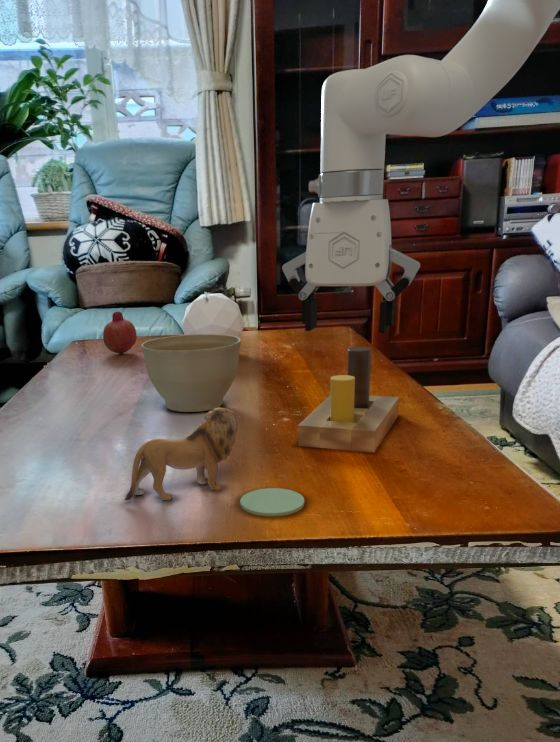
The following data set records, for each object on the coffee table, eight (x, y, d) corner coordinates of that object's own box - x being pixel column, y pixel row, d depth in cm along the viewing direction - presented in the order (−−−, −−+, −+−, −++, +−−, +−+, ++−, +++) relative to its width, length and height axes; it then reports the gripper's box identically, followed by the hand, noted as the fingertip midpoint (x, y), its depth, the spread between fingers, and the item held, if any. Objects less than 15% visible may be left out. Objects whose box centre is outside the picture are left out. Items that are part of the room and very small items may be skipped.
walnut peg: (370, 421, 101) (372, 347, 97) (366, 427, 98) (368, 351, 94) (348, 419, 102) (350, 346, 98) (343, 426, 99) (345, 350, 95)
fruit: (119, 358, 157) (115, 314, 154) (97, 355, 163) (93, 312, 159) (145, 352, 163) (141, 309, 159) (123, 349, 168) (119, 308, 164)
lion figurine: (226, 470, 85) (223, 400, 82) (249, 483, 80) (246, 409, 77) (116, 498, 78) (108, 423, 75) (134, 513, 74) (127, 434, 71)
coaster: (312, 495, 76) (312, 491, 76) (293, 520, 70) (293, 516, 70) (253, 488, 79) (253, 485, 79) (230, 511, 73) (230, 508, 73)
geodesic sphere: (245, 334, 143) (243, 274, 147) (178, 337, 144) (177, 278, 148) (245, 365, 158) (243, 310, 161) (184, 368, 158) (183, 313, 162)
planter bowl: (261, 407, 111) (259, 340, 107) (172, 425, 104) (167, 355, 100) (213, 389, 125) (210, 329, 121) (132, 404, 118) (126, 341, 114)
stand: (398, 416, 102) (399, 397, 101) (374, 453, 88) (374, 430, 87) (331, 412, 107) (331, 393, 105) (297, 446, 92) (297, 425, 91)
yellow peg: (355, 435, 95) (357, 375, 92) (350, 442, 92) (352, 380, 89) (332, 433, 96) (333, 374, 93) (327, 440, 94) (328, 379, 91)
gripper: (273, 192, 83) (274, 333, 89) (420, 184, 76) (409, 337, 82) (292, 192, 89) (292, 324, 96) (429, 184, 82) (419, 327, 89)
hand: (346, 330), depth 89 cm, fingers open, 9 cm apart
